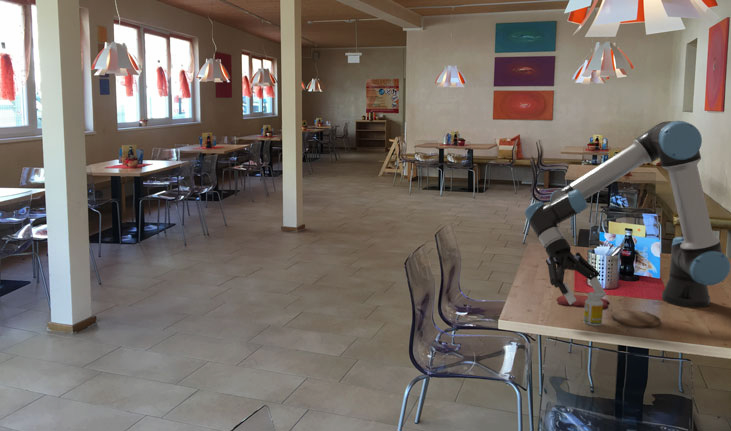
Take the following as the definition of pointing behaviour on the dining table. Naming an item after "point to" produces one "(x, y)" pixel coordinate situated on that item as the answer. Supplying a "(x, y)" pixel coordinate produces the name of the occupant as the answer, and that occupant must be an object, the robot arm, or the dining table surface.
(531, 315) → the dining table surface
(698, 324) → the dining table surface
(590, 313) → the supplement bottle
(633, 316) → the plate
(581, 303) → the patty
